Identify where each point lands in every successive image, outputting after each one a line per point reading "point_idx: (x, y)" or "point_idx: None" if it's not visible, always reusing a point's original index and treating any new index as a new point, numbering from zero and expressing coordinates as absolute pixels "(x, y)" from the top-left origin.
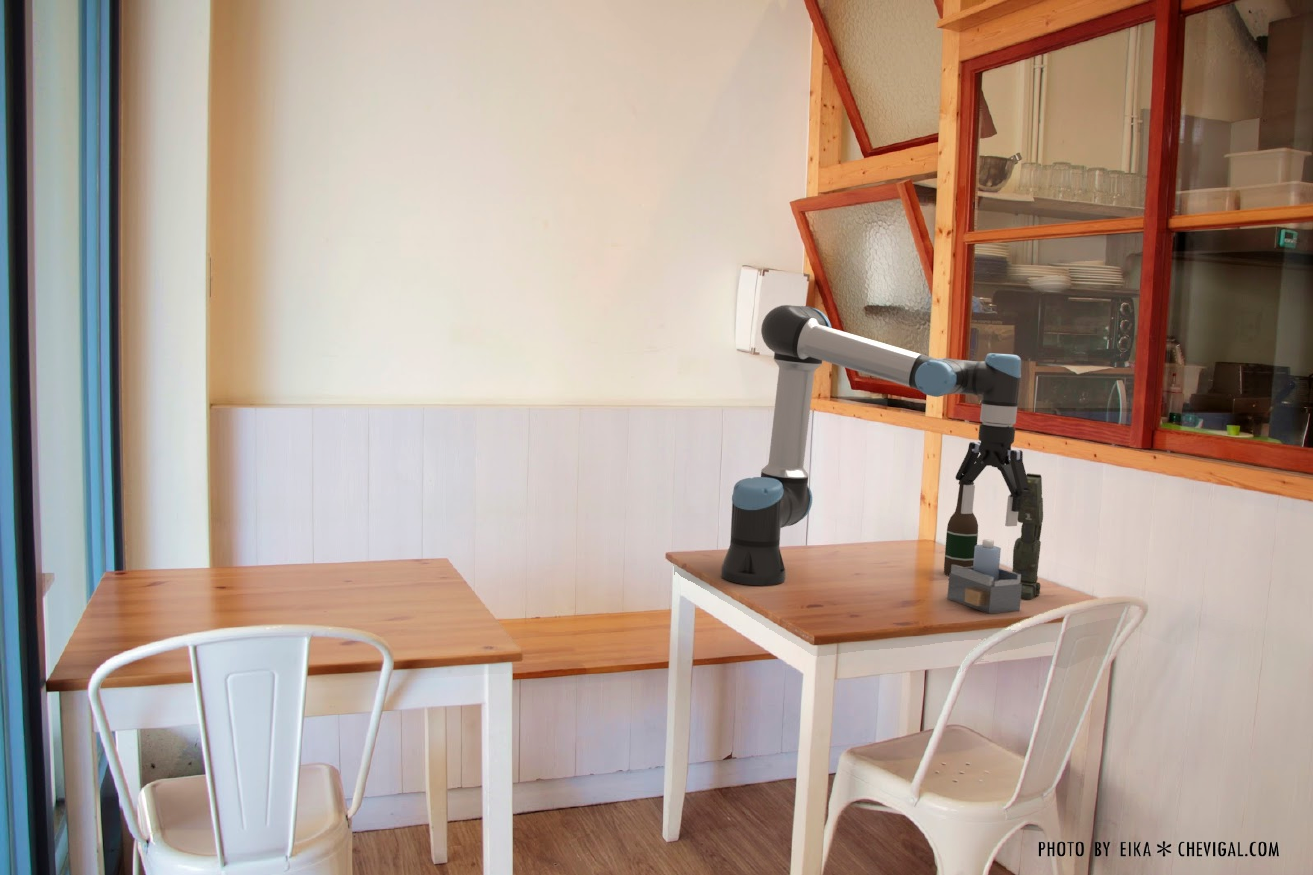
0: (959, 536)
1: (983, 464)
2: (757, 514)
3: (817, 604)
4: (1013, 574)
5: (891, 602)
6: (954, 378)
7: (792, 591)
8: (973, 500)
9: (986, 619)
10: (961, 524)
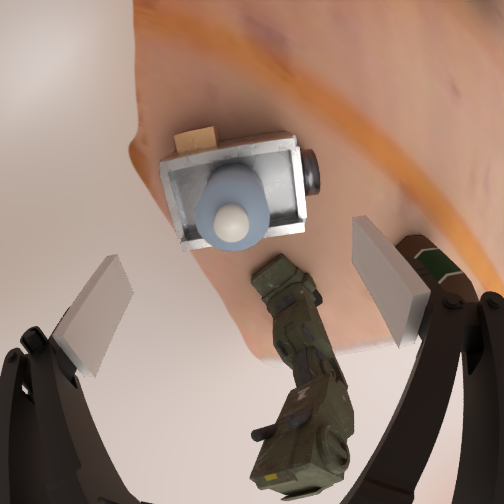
0: (437, 280)
1: (345, 499)
2: None
3: None
4: (192, 239)
5: (278, 13)
6: None
7: None
8: (371, 294)
9: (144, 129)
10: None
